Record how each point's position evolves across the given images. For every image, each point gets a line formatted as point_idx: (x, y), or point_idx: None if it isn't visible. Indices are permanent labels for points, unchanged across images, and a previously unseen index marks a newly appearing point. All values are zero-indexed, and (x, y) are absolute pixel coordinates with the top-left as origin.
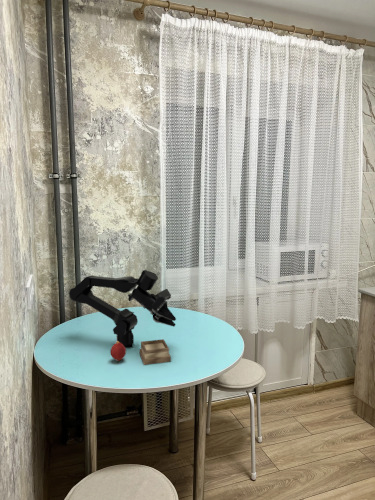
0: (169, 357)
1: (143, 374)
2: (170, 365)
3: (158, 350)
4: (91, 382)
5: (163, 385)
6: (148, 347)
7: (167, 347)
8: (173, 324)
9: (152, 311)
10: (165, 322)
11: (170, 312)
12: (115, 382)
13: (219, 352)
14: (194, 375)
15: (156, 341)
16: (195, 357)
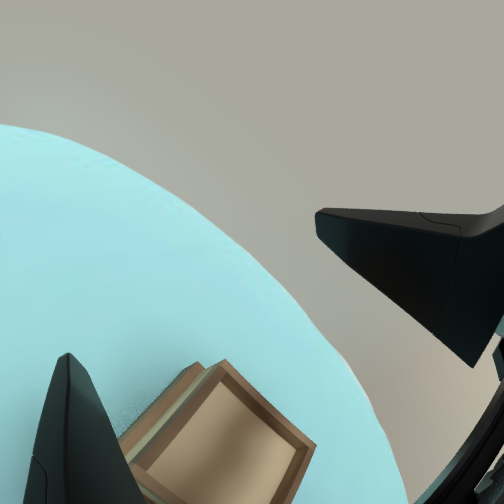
0: (200, 368)
1: (311, 402)
2: (213, 353)
3: (264, 403)
4: (394, 471)
5: (307, 316)
6: (249, 494)
7: (222, 371)
8: (84, 378)
9: (488, 473)
10: (136, 493)
11: (414, 219)
12: (368, 431)
13: (12, 178)
14: (221, 250)
15: (181, 500)
16: (87, 269)
